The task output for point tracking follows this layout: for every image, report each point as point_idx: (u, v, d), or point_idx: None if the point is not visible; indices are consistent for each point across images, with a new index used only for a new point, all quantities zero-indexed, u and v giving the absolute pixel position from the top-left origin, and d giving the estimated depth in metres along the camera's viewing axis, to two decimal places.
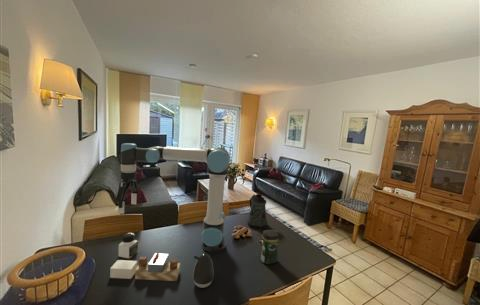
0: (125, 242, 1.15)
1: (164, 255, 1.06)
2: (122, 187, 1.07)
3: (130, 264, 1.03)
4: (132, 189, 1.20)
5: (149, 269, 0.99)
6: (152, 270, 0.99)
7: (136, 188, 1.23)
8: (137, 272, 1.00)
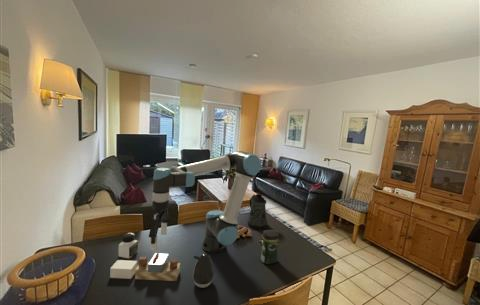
0: (125, 242, 1.15)
1: (164, 255, 1.06)
2: (155, 220, 0.94)
3: (130, 264, 1.03)
4: (163, 218, 1.06)
5: (149, 269, 0.99)
6: (152, 270, 0.99)
7: (166, 216, 1.09)
8: (137, 272, 1.00)
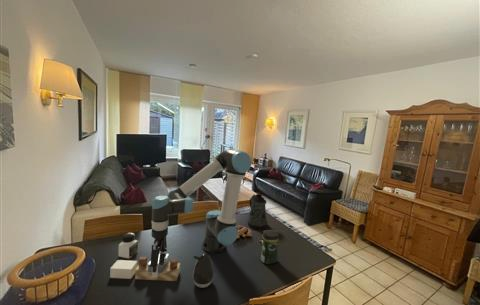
0: (125, 242, 1.15)
1: (164, 255, 1.06)
2: (155, 250, 0.96)
3: (130, 264, 1.03)
4: (161, 247, 1.07)
5: (149, 269, 0.99)
6: None
7: (165, 245, 1.09)
8: (137, 272, 1.00)
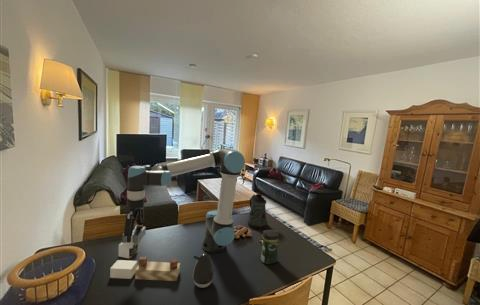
0: None
1: (141, 227, 1.04)
2: (129, 219, 0.94)
3: (130, 264, 1.03)
4: (138, 219, 1.04)
5: (124, 240, 0.97)
6: None
7: (142, 218, 1.07)
8: (137, 272, 1.00)
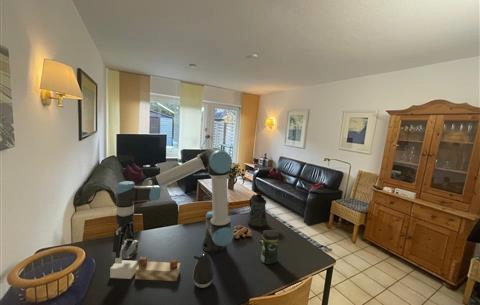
0: None
1: (130, 242, 1.05)
2: (118, 235, 0.95)
3: (130, 264, 1.03)
4: (128, 233, 1.05)
5: (113, 255, 0.98)
6: None
7: (132, 232, 1.08)
8: (137, 272, 1.00)
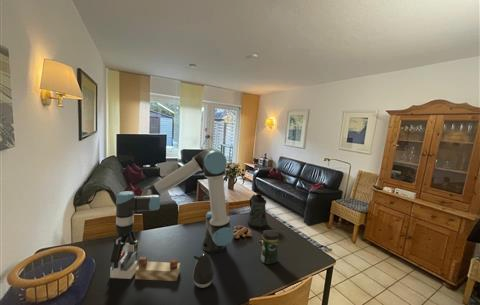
0: None
1: (131, 253, 1.06)
2: (118, 245, 0.95)
3: None
4: (129, 241, 1.07)
5: (113, 267, 0.98)
6: None
7: (133, 238, 1.10)
8: (137, 272, 1.00)
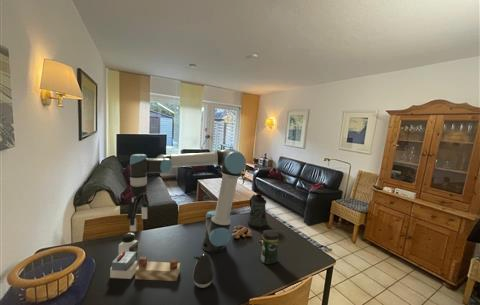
0: (125, 242, 1.15)
1: (131, 253, 1.06)
2: (133, 202, 0.99)
3: None
4: (142, 203, 1.11)
5: (113, 267, 0.98)
6: (116, 268, 0.99)
7: (146, 201, 1.14)
8: (137, 272, 1.00)
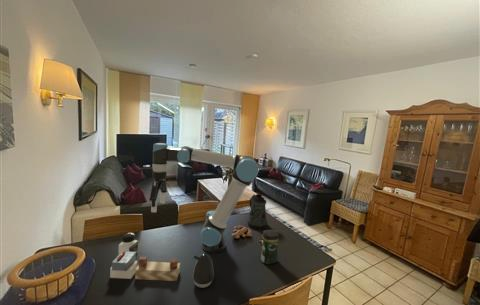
0: (125, 242, 1.15)
1: (131, 253, 1.06)
2: (155, 186, 1.09)
3: None
4: (161, 188, 1.22)
5: (113, 267, 0.98)
6: (116, 268, 0.99)
7: (165, 187, 1.25)
8: (137, 272, 1.00)
